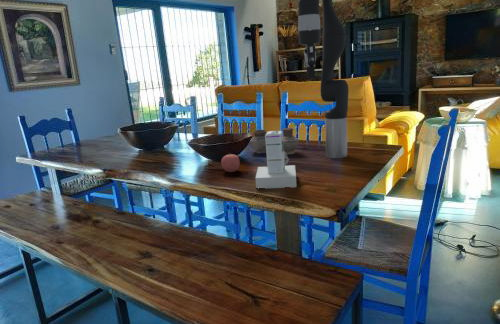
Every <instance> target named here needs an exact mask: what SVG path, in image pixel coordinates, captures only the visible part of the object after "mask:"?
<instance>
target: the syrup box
mask: <svg viewBox="0 0 500 324" xmlns="http://www.w3.org/2000/svg"><path fill="white" fill-rule="evenodd" d="M283 136H284V133H283V130H270V131H266V134H265V141H266V153H265V154H266V165H267V166H266V167H268V173H269V174H279V173H284V170H285V161H284V146H283Z"/></svg>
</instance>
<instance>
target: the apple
mask: <svg viewBox="0 0 500 324" xmlns="http://www.w3.org/2000/svg"><path fill="white" fill-rule="evenodd" d="M240 163H241V162H240V158H239V156H238V155H236V154H232V153H228V154H226V155H224V156H222V158H221V164H220V165H221V167H222V169H223V170H224V171H225V172H228V173H233V172H236V171H237V170H238V168H240Z"/></svg>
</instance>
